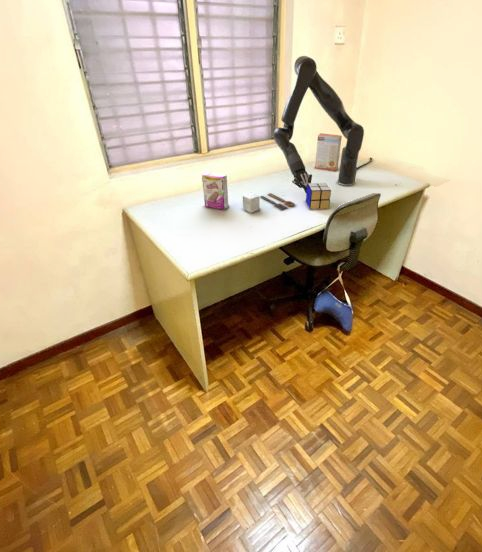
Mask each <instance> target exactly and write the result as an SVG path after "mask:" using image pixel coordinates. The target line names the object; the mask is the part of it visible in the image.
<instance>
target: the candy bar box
mask: <svg viewBox="0 0 482 552" xmlns="http://www.w3.org/2000/svg"><path fill="white" fill-rule="evenodd" d="M201 181H202V190H203V191H202V192H203V197H204V198H203V199H204V207H206V208H212V209H216V210H222V211H225V210H227V209H228V208H229V192H228V191H229V190H228V176H227V175H225V174H220V173H214V172H207V171H205V172H204V173H203V174H201Z"/></svg>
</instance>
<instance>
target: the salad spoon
mask: <svg viewBox="0 0 482 552" xmlns="http://www.w3.org/2000/svg"><path fill="white" fill-rule="evenodd" d="M267 195H268V196H269V197H271V198H273V199H275V200H277V201H279V202H280V203H283V206H285V207H287V208H293V207H295V203H294V202H293V201H290V200H285V199H284V198H281V197H279V196H277V195H275V194H273V193H268V194H267Z"/></svg>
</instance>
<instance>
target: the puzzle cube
mask: <svg viewBox="0 0 482 552" xmlns="http://www.w3.org/2000/svg"><path fill="white" fill-rule="evenodd" d="M331 195H332V189H331V188H330V186H329V185H328V184H327V182H311V183H308V184H307V193H305V203H306V205H307V206H308V209H309V210H326V209H327V210H328V209H329V208H330V202H331Z"/></svg>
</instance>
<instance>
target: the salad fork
mask: <svg viewBox="0 0 482 552" xmlns="http://www.w3.org/2000/svg"><path fill="white" fill-rule="evenodd" d="M260 198H261V199H262V200H264V201H266V202H268V203H270V204H272V205H273V207H274V208H277V209H278V210H281V211H284V210H287V209H288V206H286V205H284V204H282V203H277V202H275V201H273V200H271V199H269V198H268V197H266V196H264V195H261V196H260Z"/></svg>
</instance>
